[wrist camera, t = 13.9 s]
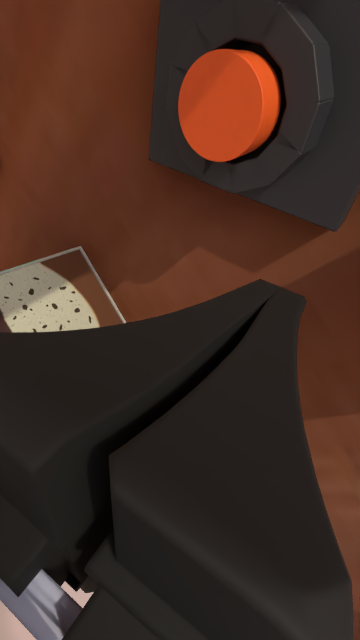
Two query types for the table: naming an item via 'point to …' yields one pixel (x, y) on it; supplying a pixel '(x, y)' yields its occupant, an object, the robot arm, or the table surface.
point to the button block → (296, 100)
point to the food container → (55, 295)
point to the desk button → (228, 104)
